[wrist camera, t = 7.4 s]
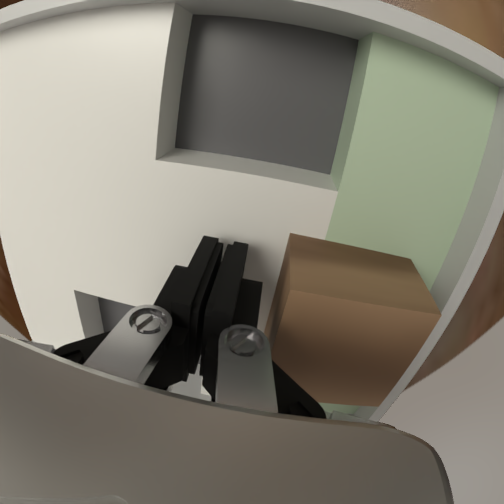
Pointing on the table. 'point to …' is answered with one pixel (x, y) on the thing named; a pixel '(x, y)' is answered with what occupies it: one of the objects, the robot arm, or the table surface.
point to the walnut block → (347, 320)
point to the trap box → (238, 150)
